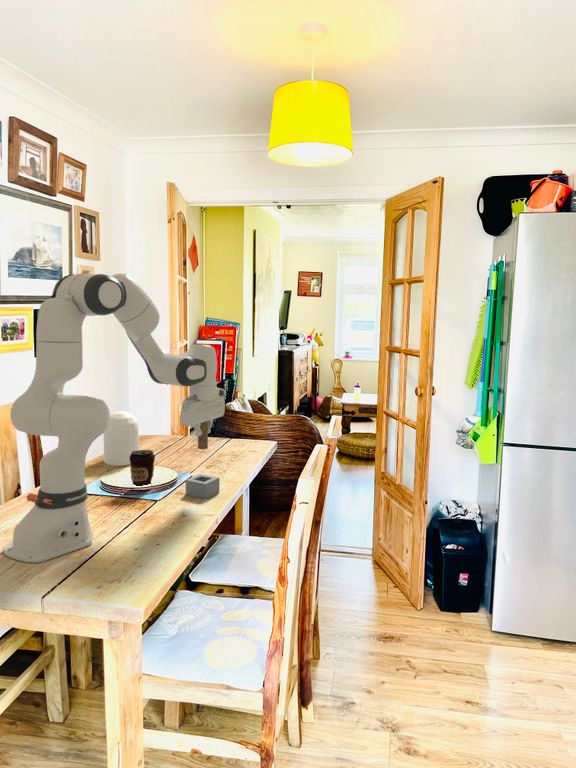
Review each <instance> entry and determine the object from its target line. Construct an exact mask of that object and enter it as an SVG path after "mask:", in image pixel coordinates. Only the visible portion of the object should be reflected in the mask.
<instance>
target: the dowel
mask: <svg viewBox="0 0 576 768" xmlns="http://www.w3.org/2000/svg"><path fill="white" fill-rule="evenodd" d="M200 429H201V430H202V435H201V436H197V449H199V450H207V449H208V447H209V446H208V445H209V442H208V441H209V436H208V435H209V433H208V421H205V422H202V423H201V426H200Z"/></svg>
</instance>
